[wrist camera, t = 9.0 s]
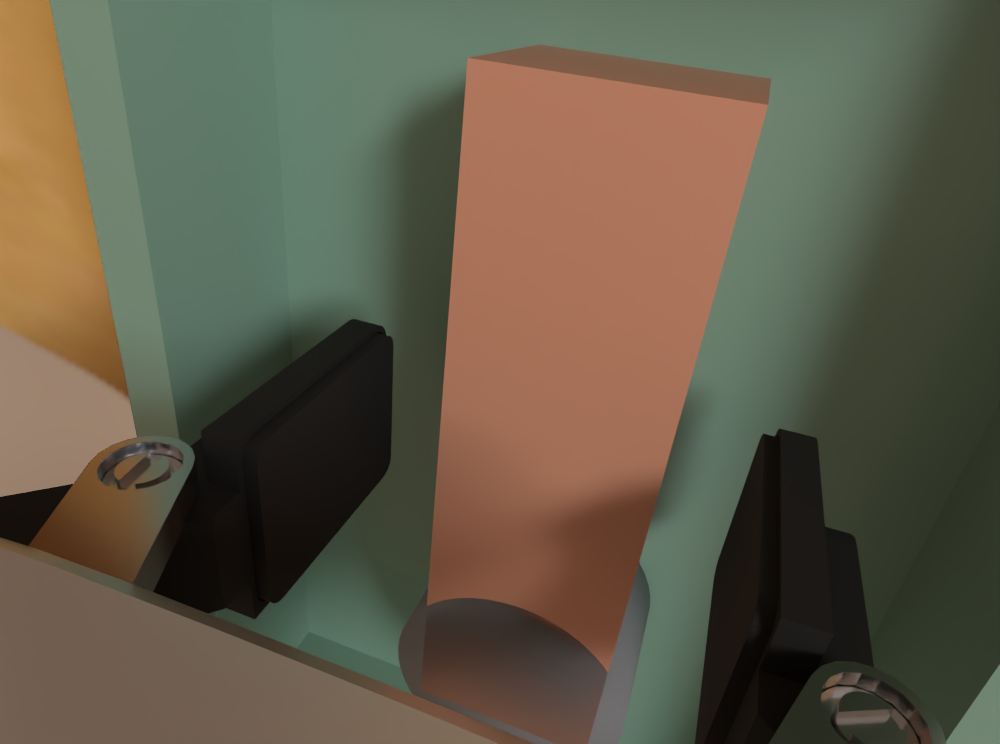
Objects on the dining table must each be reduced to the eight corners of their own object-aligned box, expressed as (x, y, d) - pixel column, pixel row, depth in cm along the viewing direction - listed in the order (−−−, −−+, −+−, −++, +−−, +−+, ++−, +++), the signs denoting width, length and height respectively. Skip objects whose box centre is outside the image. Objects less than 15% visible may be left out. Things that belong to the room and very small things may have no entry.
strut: (506, 39, 11) (426, 50, 8) (811, 84, 10) (822, 113, 7) (449, 616, 18) (395, 718, 15) (627, 682, 17) (600, 804, 14)
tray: (807, 828, 18) (813, 1028, 14) (292, 627, 21) (199, 748, 18) (1459, -276, 7) (2081, -526, 4) (221, -294, 11) (-37, -429, 7)
